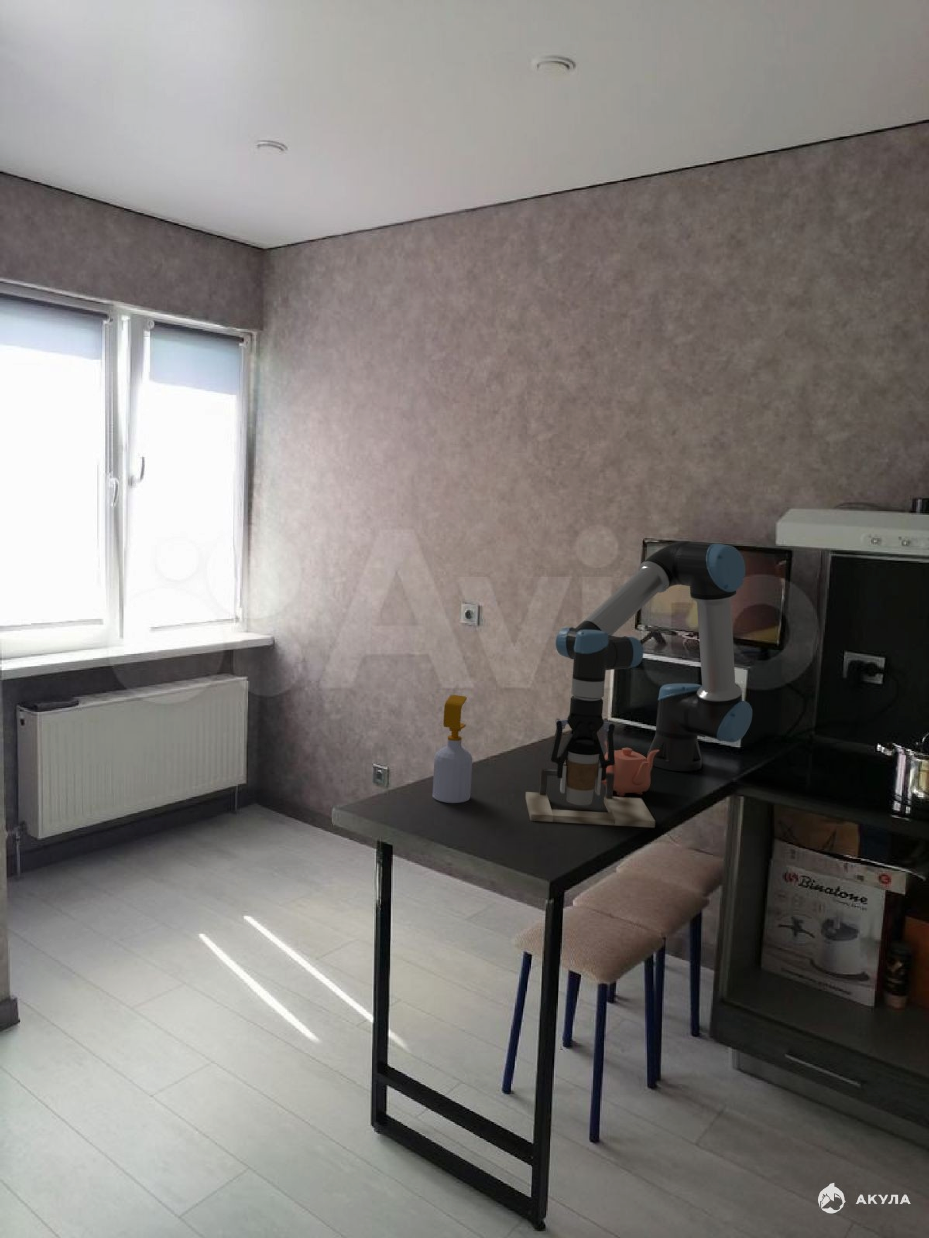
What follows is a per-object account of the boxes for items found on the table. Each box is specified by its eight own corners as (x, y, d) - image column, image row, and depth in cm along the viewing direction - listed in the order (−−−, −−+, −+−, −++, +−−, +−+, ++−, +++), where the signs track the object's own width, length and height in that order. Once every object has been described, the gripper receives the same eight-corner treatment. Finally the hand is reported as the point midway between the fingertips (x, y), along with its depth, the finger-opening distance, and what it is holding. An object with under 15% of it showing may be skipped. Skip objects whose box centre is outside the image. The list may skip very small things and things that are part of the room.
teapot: (601, 778, 240) (605, 738, 239) (656, 787, 235) (659, 746, 234) (589, 793, 227) (592, 750, 226) (646, 803, 222) (650, 759, 221)
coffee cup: (596, 797, 218) (601, 736, 216) (598, 808, 209) (603, 745, 207) (561, 794, 218) (565, 733, 217) (561, 805, 210) (566, 742, 208)
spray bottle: (474, 795, 220) (481, 695, 217) (462, 806, 212) (468, 702, 208) (440, 789, 223) (445, 691, 220) (426, 800, 214) (432, 697, 211)
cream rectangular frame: (640, 804, 221) (643, 774, 220) (654, 827, 205) (657, 795, 204) (525, 797, 220) (527, 767, 219) (530, 820, 205) (532, 788, 204)
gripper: (628, 696, 215) (620, 789, 217) (541, 691, 214) (535, 784, 217) (634, 702, 207) (626, 799, 210) (544, 697, 207) (537, 794, 210)
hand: (579, 792), depth 214 cm, fingers closed on coffee cup, 8 cm apart
